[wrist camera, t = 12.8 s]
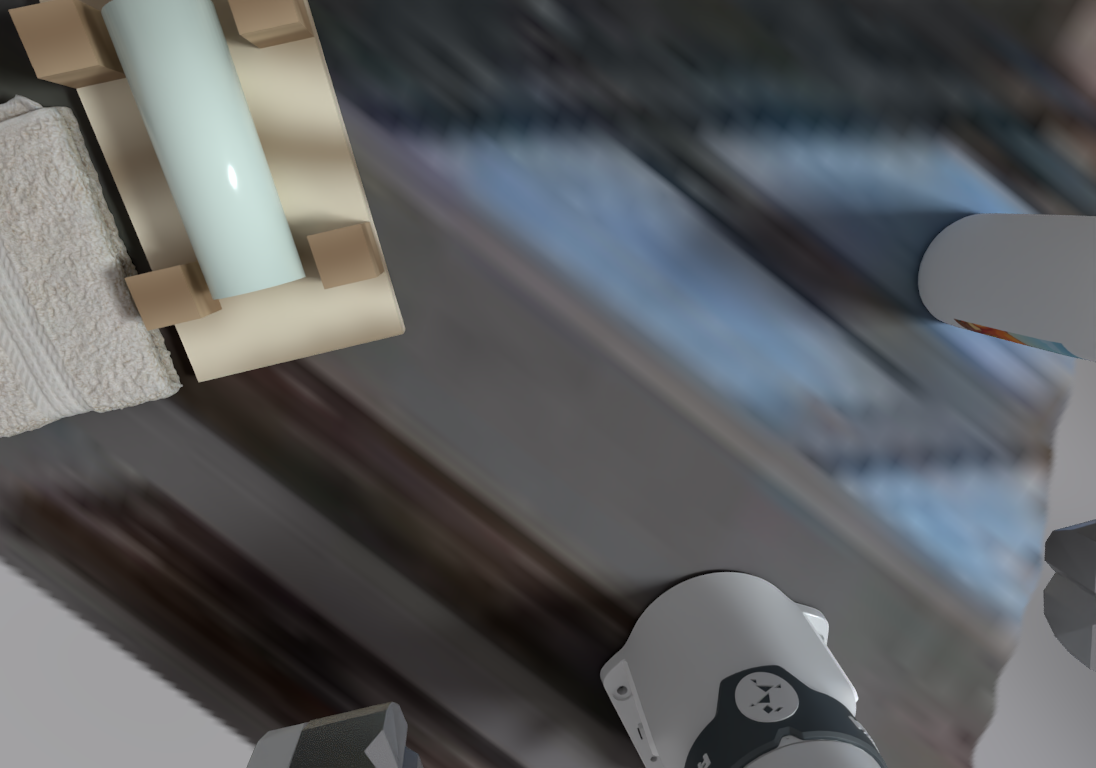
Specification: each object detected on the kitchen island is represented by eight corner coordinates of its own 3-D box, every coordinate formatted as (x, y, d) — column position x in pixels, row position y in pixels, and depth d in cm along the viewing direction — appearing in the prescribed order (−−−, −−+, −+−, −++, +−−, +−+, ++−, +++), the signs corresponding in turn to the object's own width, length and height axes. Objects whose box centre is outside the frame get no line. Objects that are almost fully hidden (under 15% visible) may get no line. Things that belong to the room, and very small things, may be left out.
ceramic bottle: (315, 272, 37) (291, 283, 32) (233, 291, 37) (196, 304, 32) (201, -73, 31) (150, -121, 27) (103, -53, 31) (36, -98, 26)
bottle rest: (405, 329, 40) (397, 344, 36) (206, 376, 39) (175, 397, 35) (276, -103, 32) (248, -146, 28) (30, -52, 32) (-35, -88, 28)
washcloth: (73, 92, 34) (35, 83, 31) (196, 388, 40) (173, 403, 37) (-142, 138, 34) (-201, 132, 31) (12, 431, 39) (-25, 450, 36)
